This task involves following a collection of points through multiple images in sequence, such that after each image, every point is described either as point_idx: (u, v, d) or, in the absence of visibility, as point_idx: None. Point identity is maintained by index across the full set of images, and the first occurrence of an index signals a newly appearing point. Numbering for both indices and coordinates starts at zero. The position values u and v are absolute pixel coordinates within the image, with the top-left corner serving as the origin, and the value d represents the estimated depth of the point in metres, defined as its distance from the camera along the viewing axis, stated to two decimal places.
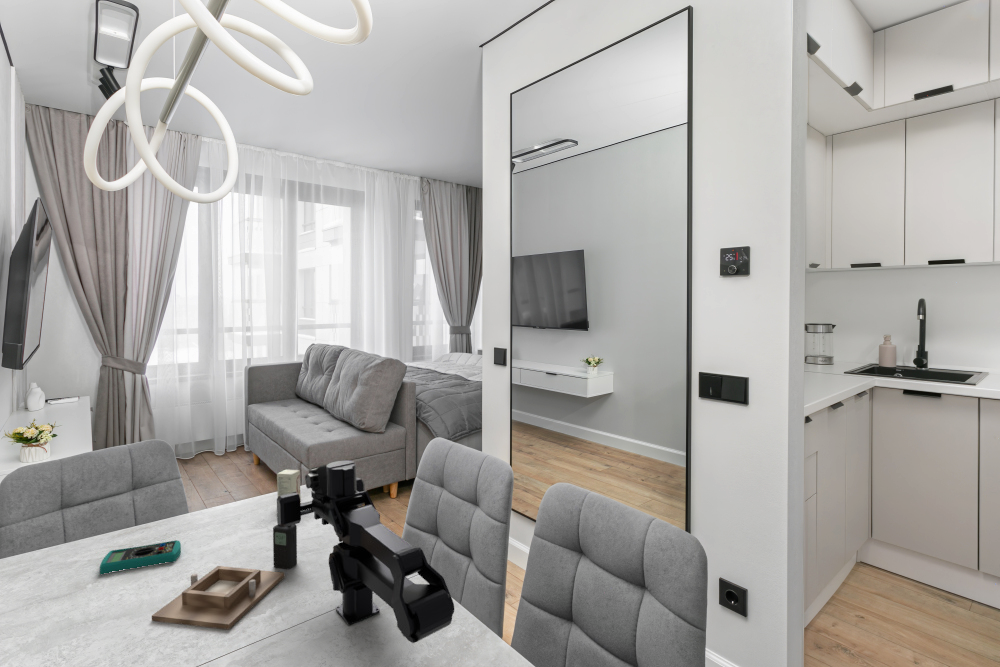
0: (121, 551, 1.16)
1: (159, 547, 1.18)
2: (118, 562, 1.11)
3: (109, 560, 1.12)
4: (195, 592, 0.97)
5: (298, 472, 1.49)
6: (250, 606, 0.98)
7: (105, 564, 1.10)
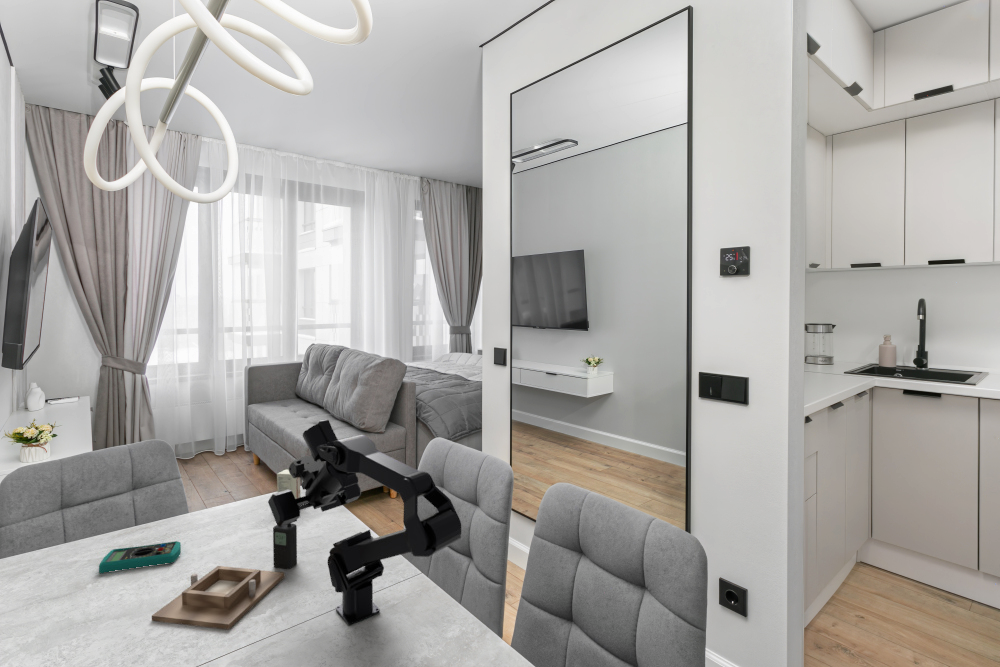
0: (123, 550, 1.16)
1: (159, 548, 1.17)
2: (117, 561, 1.11)
3: (109, 559, 1.12)
4: (195, 592, 0.97)
5: None
6: (250, 606, 0.98)
7: (104, 563, 1.10)
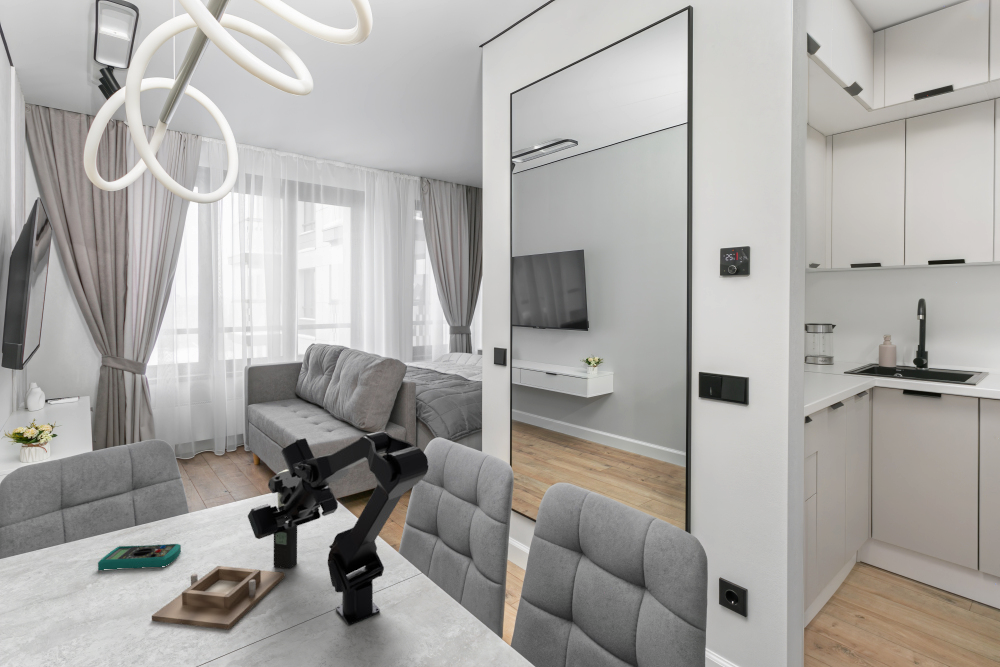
0: (127, 548, 1.17)
1: (158, 549, 1.17)
2: (114, 560, 1.12)
3: (110, 556, 1.14)
4: (195, 592, 0.97)
5: None
6: (250, 606, 0.98)
7: (103, 561, 1.11)
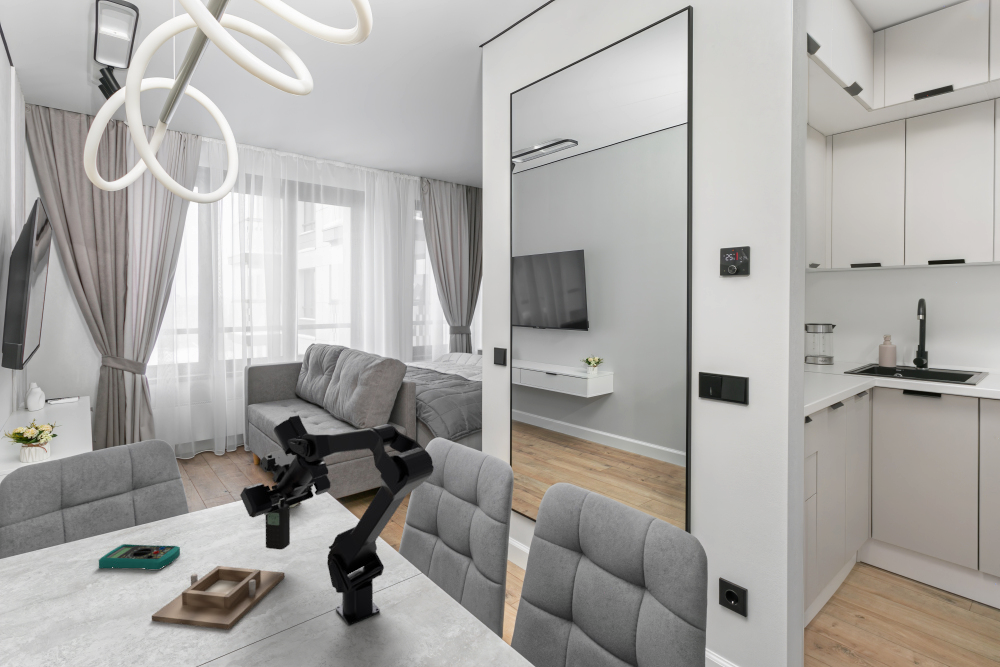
0: (130, 547, 1.18)
1: (157, 550, 1.16)
2: (113, 559, 1.12)
3: (112, 554, 1.14)
4: (195, 592, 0.97)
5: None
6: (250, 606, 0.98)
7: (103, 558, 1.12)
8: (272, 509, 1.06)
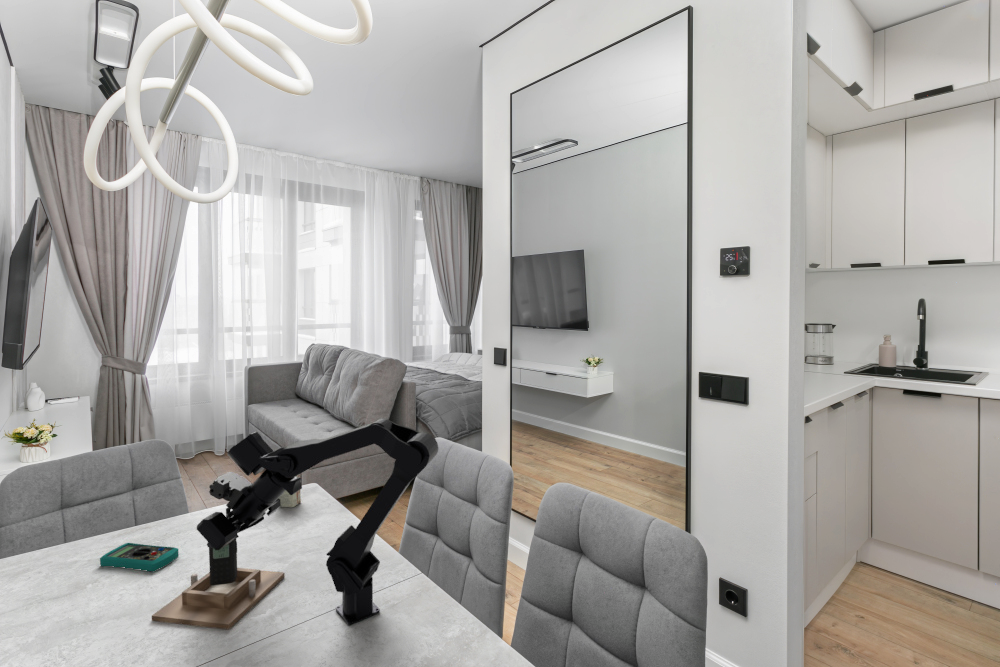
0: (133, 546, 1.19)
1: (155, 551, 1.16)
2: (113, 558, 1.13)
3: (114, 553, 1.15)
4: (195, 592, 0.97)
5: None
6: (250, 606, 0.98)
7: (104, 557, 1.13)
8: None
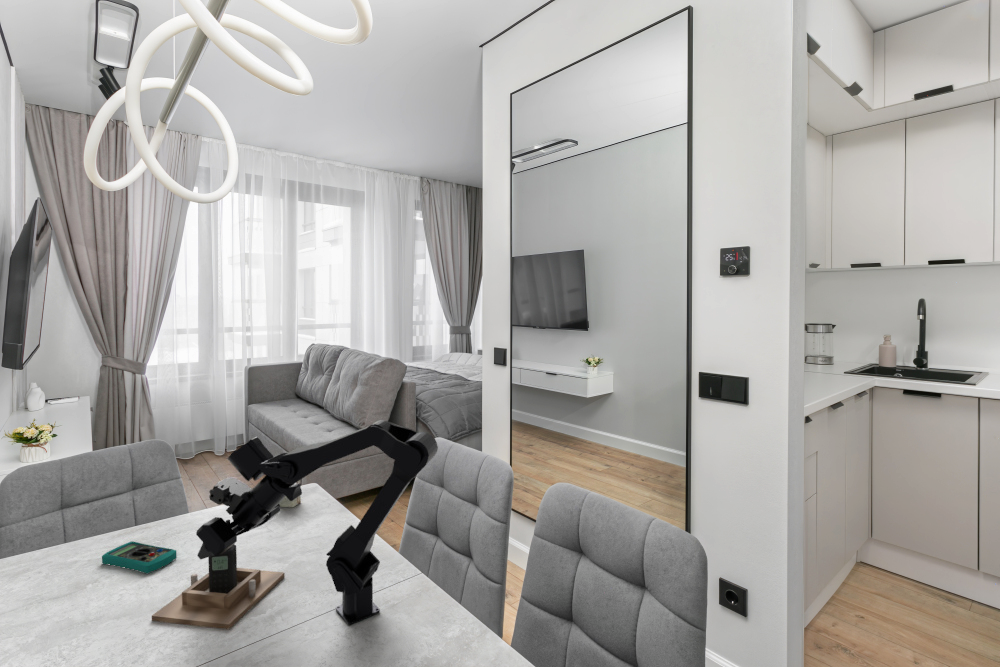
0: (136, 545, 1.19)
1: (154, 552, 1.15)
2: (113, 556, 1.13)
3: (116, 551, 1.16)
4: (195, 592, 0.97)
5: None
6: (250, 606, 0.98)
7: (105, 555, 1.14)
8: None
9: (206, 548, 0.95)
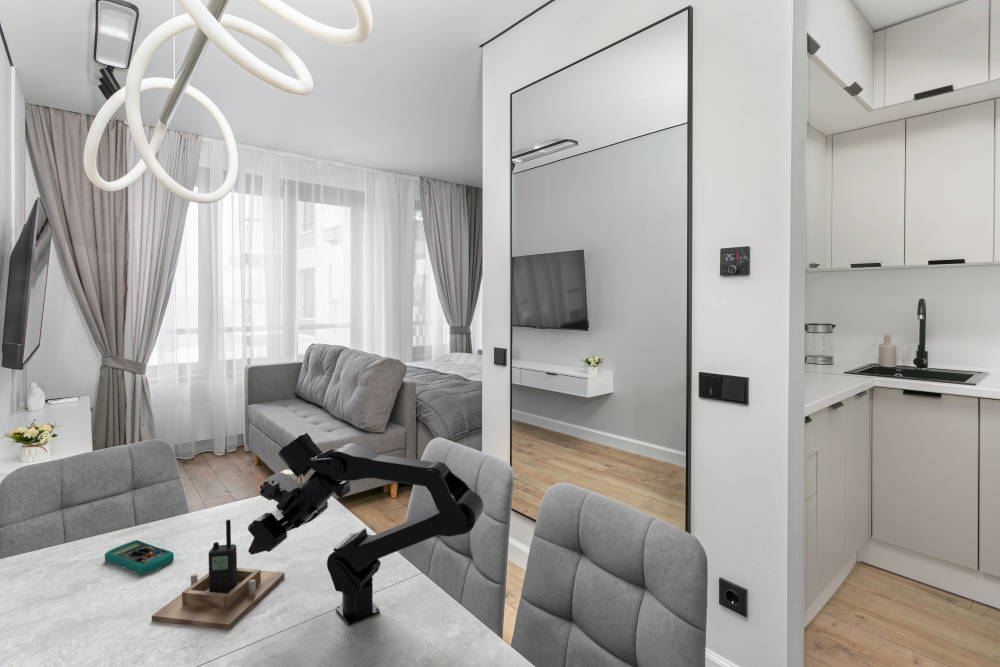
0: (140, 544, 1.20)
1: (152, 553, 1.15)
2: (114, 555, 1.14)
3: (119, 550, 1.17)
4: (195, 592, 0.97)
5: None
6: (250, 606, 0.98)
7: (107, 553, 1.15)
8: None
9: (257, 544, 0.95)
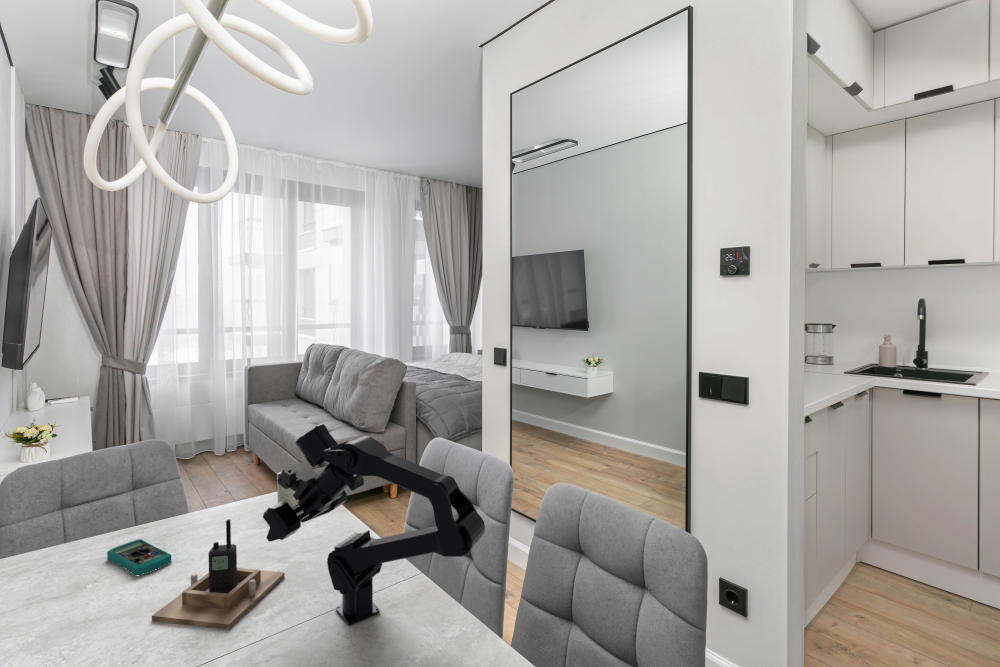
0: (142, 543, 1.20)
1: (151, 554, 1.15)
2: (114, 554, 1.14)
3: (121, 548, 1.17)
4: (195, 592, 0.97)
5: None
6: (250, 606, 0.98)
7: (110, 551, 1.15)
8: None
9: None
